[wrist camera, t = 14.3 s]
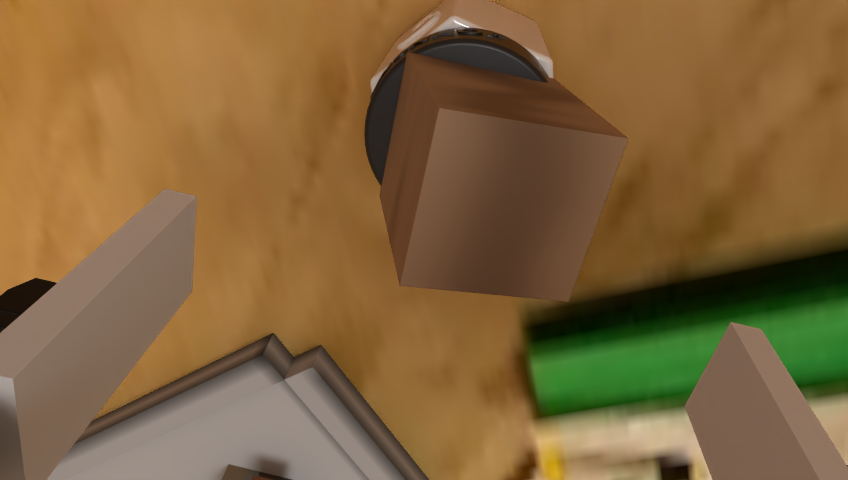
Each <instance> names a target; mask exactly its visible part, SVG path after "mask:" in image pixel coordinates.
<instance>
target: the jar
mask: <svg viewBox="0 0 848 480" xmlns="http://www.w3.org/2000/svg"><path fill="white" fill-rule="evenodd" d="M407 52H409V53H415V54H420V55H426V56H431V57H435V58H440V59H444V60H448V61H453V62H457V63H462V64H466V65H470V66H475V67H479V68H483V69H488V70H492V71H496V72H501V73H505V74H509V75H514V76H518V77H523V78H527V79H531V80H536V81H540V82H547V83H548V79H547V77H548V78H554V77H553V61H552V59H551V56H550V53H549V51H548V48H547V46H546V43H545V41H544V38H543V36H542V33H541V30H540V28H539V25H538V23H537V22H536V21H534V20H531V19H529V18H527V17H525V16H523V15H520V14H518V13H516V12H514V11H511V10H509V9H507V8H505V7H503V6H500V5H498V4H496V3H494V2H492V1H489V0H445V1H444V2H443V3H442V4H440V5H439V6H438V7H437V8H435V9H434V10H433V11H432V12H430V13H429V14H428V15H427V16H425V17H424V18H423V19H422V20H420V21H419V22H418V23H416V24H415V25H414V26H413V27H411V28H410V29H409V30H408V31H406V32H405V33H404V34H403V35H401V36H400V37H399V38H398V39H397V40H396V42H395V43H394V45H393V46H392V48H391V49H390V51H389V52H388V54H387V55H386V57H385V59H384V60H383V62H382V63H381V65H380V66H379V68H378V69H377V71H376V72H375V74H374V75H373V77H372V79H371V81H370V85H371V91H372V95H371V101H370V104H369V106H368V109H367V114H366V120H365V146H366V152H367V156H368V160H369V163H370V166H371V168H372V171H373V173H374V175H375V177H376V179H377V181H378V182H379V184H380V185H381V186H382V181H383V176H384V170H385V165H386V160H387V155H388V150H389V144H390V139H391V134H392V129H393V123H394V118H395V113H396V108H397V103H398V97H399V92H400V87H401V82H402V76H403V71H404V66H405V61H406V56H407Z"/></svg>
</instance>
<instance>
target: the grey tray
mask: <svg viewBox="0 0 848 480" xmlns="http://www.w3.org/2000/svg"><path fill="white" fill-rule="evenodd" d="M47 480H429V479H428V478H427V477H426V475H425V474H424V473H423V472H422V470H421V469H420V468H419V467H418V465H417V464H416V463H415V462H414V460H413V459H412V458H411V457H410V455H409V454H408V453H407V452H406V450H405V449H404V448H403V447H402V445H401V444H400V443H399V442H398V440H397V439H396V438H395V437H394V435H393V434H392V433H391V432H390V430H389V429H388V428H387V427H386V425H385V424H384V423H383V422H382V420H381V419H380V418H379V417H378V415H377V414H376V413H375V412H374V410H373V409H372V408H371V407H370V405H369V404H368V403H367V402H366V400H365V399H364V398H363V397H362V395H361V394H360V393H359V392H358V390H357V389H356V388H355V387H354V385H353V384H352V383H351V382H350V380H349V379H348V378H347V377H346V375H345V374H344V373H343V372H342V370H341V369H340V368H339V367H338V365H337V364H336V363H335V362H334V360H333V359H332V358H331V357H330V355H329V354H328V353H327V352H326V350H325V349H324V348H323V347H322V345H320V346H318V347H316V348H313V349H311V350H309V351H307V352H305V353H303V354H301V355H298V356H296V357H293V356H292V355H291V353H290V352H289V351H288V350H287V349H286V347H285V346H284V345H283V344H282V343H281V341H280V340H279V339H278V338H277V337H276V335H275V334H274V333H272V334H270V335H268V336H266V337H264V338H262V339H260V340H258V341H256V342H254V343H252V344H250V345H248V346H246V347H244V348H242V349H240V350H238V351H235V352H233V353H231V354H229V355H227V356H225V357H223V358H221V359H219V360H217V361H215V362H213V363H211V364H209V365H207V366H205V367H203V368H201V369H198V370H196V371H194V372H192V373H190V374H188V375H186V376H184V377H182V378H180V379H178V380H176V381H174V382H172V383H170V384H168V385H166V386H164V387H161V388H159V389H157V390H155V391H153V392H151V393H149V394H147V395H145V396H143V397H141V398H139V399H137V400H135V401H133V402H131V403H129V404H127V405H124V406H122V407H120V408H118V409H116V410H114V411H112V412H110V413H108V414H106V415H104V416H102V417H100V418H98V419H96V420H94V421H92V422H91V423H90V424H89V425H88V427H87V428H86V429H85V431H84V432H83V433H82V434H81V436H80V437H79V438H78V440H77V441H76V442H75V443H74V445H73V446H72V447H71V449H70V450H69V451H68V453H67V454H66V455H65V456H64V458H63V459H62V460H61V462H60V463H59V464H58V465H57V467H56V468H55V469H54V471H53V472H52V473H51V475H50V476H49V477H48V478H47Z"/></svg>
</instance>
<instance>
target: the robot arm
mask: <svg viewBox="0 0 848 480" xmlns="http://www.w3.org/2000/svg"><path fill="white" fill-rule="evenodd" d="M196 202H197V196H194V195H190V194H186V193H181V192H177V191H173V190H169V189H164V190H163V191H162V192H161V193H160V194H159V195H157V196H156V197H155V198H154V199H153V200H152V201H151V202H149V203H148V204H147V205H146V206H145V207H144V208H143V209H141V210H140V211H139V212H138V213H137V214H136V215H135V216H133V217H132V218H131V219H130V220H129V221H128V222H127V223H125V224H124V225H123V226H122V227H121V228H120V229H119V230H117V231H116V232H115V233H114V234H113V235H112V236H111V237H109V238H108V239H107V240H106V241H105V242H104V243H103V244H101V245H100V246H99V247H98V248H97V249H96V250H95V251H93V252H92V253H91V254H90V255H89V256H88V257H87V258H85V259H84V260H83V261H82V262H81V263H80V264H79V265H77V266H76V267H75V268H74V269H73V270H72V271H71V272H69V273H68V274H67V275H66V276H65V277H64V278H63V279H61V280H60V281H59V282H58V283H55V282H51V281H47V280H42V279H38V278H35V279H32V280H30V281H27V282H25V283H23V284H20V285H18V286H15V287H13V288H11V289H8V290H7V291H6V292H4V293H3V294H2V295H1V296H0V480H47V478H48V477H49V476H50V475H51V473H52V472H53V471H54V469H55V468H56V467H57V465H58V464H59V463H60V462H61V460H62V459H63V458H64V456H65V455H66V454H67V453H68V451H69V450H70V449H71V447H72V446H73V445H74V443H75V442H76V441H77V440H78V438H79V437H80V436H81V434H82V433H83V432H84V431H85V429H86V428H87V427H88V425H89V424H90V423H91V421H92V420H93V419H94V418H95V416H96V415H97V414H98V412H99V411H100V410H101V409H102V407H103V406H104V405H105V403H106V402H107V401H108V399H109V398H110V397H111V396H112V394H113V393H114V392H115V390H116V389H117V388H118V387H119V385H120V384H121V383H122V381H123V380H124V379H125V377H126V376H127V375H128V374H129V372H130V371H131V370H132V368H133V367H134V366H135V365H136V363H137V362H138V361H139V359H140V358H141V357H142V355H143V354H144V353H145V352H146V350H147V349H148V348H149V346H150V345H151V344H152V343H153V341H154V340H155V339H156V337H157V336H158V335H159V333H160V332H161V331H162V330H163V328H164V327H165V326H166V324H167V323H168V322H169V321H170V319H171V318H172V317H173V315H174V314H175V313H176V311H177V310H178V309H179V308H180V306H181V305H182V304H183V302H184V301H185V300H186V299H187V297H188V296H189V295H190V293H191V292H192V285H193V264H194V243H195V223H196ZM685 408H686V411H687V413H688V416H689V419H690V421H691V424H692V427H693V429H694V432H695V434H696V437H697V440H698V442H699V445H700V448H701V450H702V453H703V456H704V458H705V461H706V464H707V466H708V469H709V471H710V474H711V477H712V479H713V480H848V465H846V463H845V462H844V460H843V459H842V457H841V455H840V454H839V452H838V451H837V449H836V448H835V446H834V444H833V443H832V441H831V440H830V438H829V436H828V435H827V433H826V432H825V430H824V428H823V427H822V425H821V424H820V422H819V420H818V419H817V417H816V416H815V414H814V412H813V411H812V409H811V408H810V406H809V404H808V403H807V401H806V400H805V398H804V396H803V395H802V393H801V392H800V390H799V388H798V387H797V385H796V384H795V382H794V380H793V379H792V377H791V376H790V374H789V372H788V371H787V369H786V368H785V366H784V364H783V363H782V361H781V360H780V358H779V356H778V355H777V353H776V352H775V350H774V348H773V347H772V345H771V344H770V342H769V341H768V339H767V337H766V336H765V334H764V333H763V331H762V329H758V328H754V327H750V326H745V325H741V324H737V323H733V322H731V323H730V324H729V326H728V328H727V330H726V332H725V334H724V335H723V337H722V339H721V341H720V343H719V344H718V346H717V348H716V350H715V352H714V354H713V355H712V357H711V359H710V361H709V363H708V365H707V366H706V368H705V370H704V372H703V374H702V376H701V377H700V379H699V381H698V383H697V385H696V387H695V388H694V390H693V392H692V394H691V396H690V398H689V399H688V401H687V403H686V405H685Z"/></svg>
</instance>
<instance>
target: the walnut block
mask: <svg viewBox="0 0 848 480" xmlns="http://www.w3.org/2000/svg"><path fill="white" fill-rule="evenodd" d="M547 79H548V83H547V82H540V81H536V80H531V79H527V78H523V77H518V76H514V75H509V74H505V73H501V72H496V71H492V70H488V69H483V68H479V67H475V66H470V65H466V64H462V63H457V62H453V61H448V60H444V59H440V58H435V57H431V56H426V55H420V54H415V53H409V52H407V56H406V61H405V66H404V71H403V76H402V82H401V87H400V92H399V97H398V103H397V108H396V113H395V118H394V123H393V129H392V134H391V139H390V144H389V150H388V155H387V160H386V165H385V170H384V176H383V181H382V186H381V191H380V199H381V204H382V208H383V213H384V217H385V222H386V226H387V231H388V235H389V239H390V244H391V248H392V253H393V257H394V262H395V266H396V271H397V275H398V280H399V284H400V286H408V287H418V288H429V289H440V290H450V291H461V292H472V293H483V294H493V295H504V296H515V297H525V298H536V299H547V300H557V301H568V302H569V299H570V297H571V294H572V291H573V288H574V286H575V283H576V280H577V278H578V275H579V272H580V269H581V267H582V264H583V261H584V258H585V256H586V253H587V250H588V248H589V245H590V242H591V239H592V237H593V234H594V231H595V228H596V226H597V223H598V220H599V218H600V215H601V212H602V209H603V207H604V204H605V201H606V198H607V196H608V193H609V190H610V188H611V185H612V182H613V179H614V177H615V174H616V171H617V169H618V166H619V163H620V160H621V158H622V155H623V152H624V149H625V147H626V144H627V141H628V138H627V137H626V136H625V135H623V134H622V133H621V132H620V131H618V130H617V129H616V128H615V127H613V126H612V125H611V124H610V123H608V122H607V121H606V120H605V119H603V118H602V117H601V116H600V115H598V114H597V113H596V112H595V111H593V110H592V109H591V108H590V107H588V106H587V105H586V104H585V103H583V102H582V101H581V100H580V99H578V98H577V97H576V96H575V95H573V94H572V93H571V92H570V91H569V90H567V89H566V88H565V87H564V86H562V85H561V84H560V83H559V82H557V81H556V80H555V79H554V78H548V77H547Z"/></svg>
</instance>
